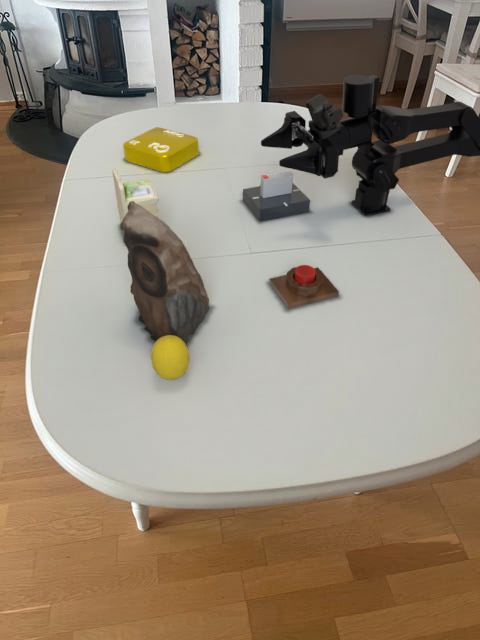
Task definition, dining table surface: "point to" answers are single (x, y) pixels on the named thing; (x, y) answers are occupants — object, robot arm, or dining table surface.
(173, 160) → the element tile
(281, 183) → the white card in stand
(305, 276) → the button
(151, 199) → the toy sink
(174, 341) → the lemon
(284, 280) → the button block
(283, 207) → the plate
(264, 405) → the dining table surface
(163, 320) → the owl
